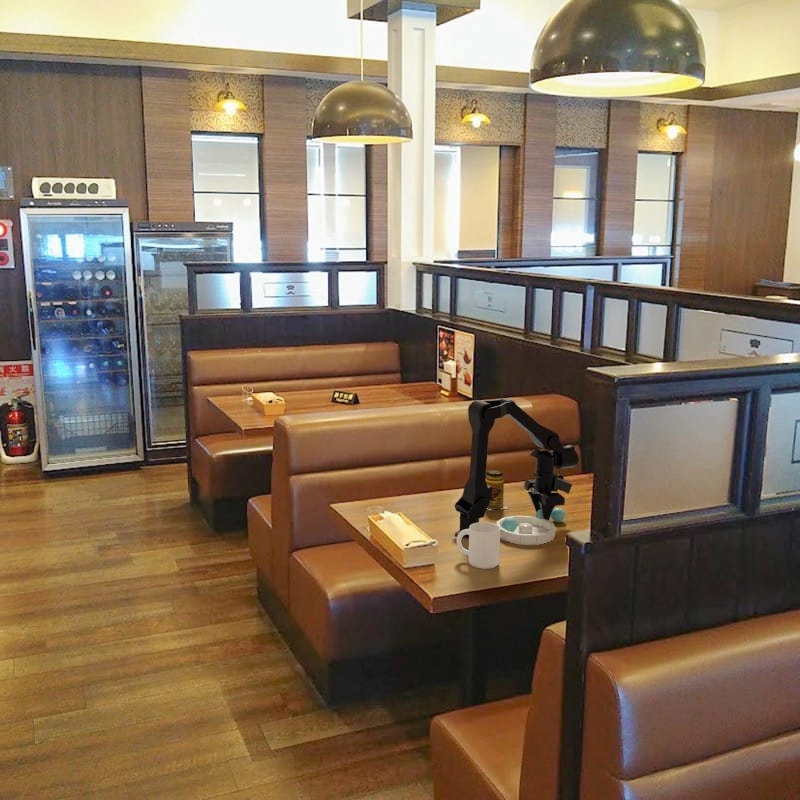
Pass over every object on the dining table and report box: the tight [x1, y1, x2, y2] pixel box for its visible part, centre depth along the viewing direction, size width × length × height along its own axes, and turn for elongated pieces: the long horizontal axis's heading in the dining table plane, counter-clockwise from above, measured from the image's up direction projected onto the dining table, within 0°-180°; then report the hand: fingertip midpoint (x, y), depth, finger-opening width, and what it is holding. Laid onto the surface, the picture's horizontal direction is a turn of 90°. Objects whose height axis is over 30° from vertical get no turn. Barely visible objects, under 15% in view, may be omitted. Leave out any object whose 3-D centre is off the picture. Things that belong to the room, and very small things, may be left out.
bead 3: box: [550, 507, 566, 523], centre depth 262 cm, size 4×4×4 cm
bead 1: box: [502, 516, 517, 532], centre depth 250 cm, size 4×4×4 cm
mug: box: [456, 521, 501, 570], centre depth 228 cm, size 12×8×10 cm
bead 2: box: [535, 509, 551, 520], centre depth 261 cm, size 4×4×4 cm
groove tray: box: [495, 515, 557, 546], centre depth 250 cm, size 17×17×3 cm
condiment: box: [486, 469, 509, 512], centre depth 275 cm, size 7×8×12 cm
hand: (542, 518), depth 261 cm, fingers open, 5 cm apart
